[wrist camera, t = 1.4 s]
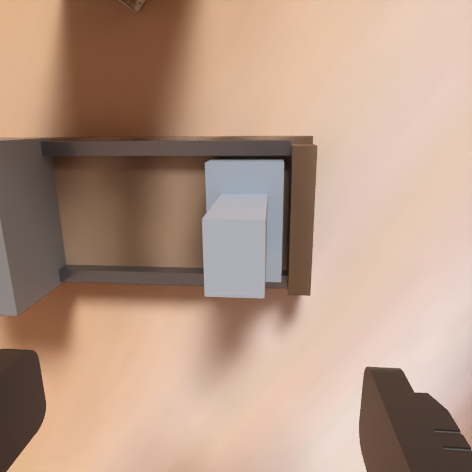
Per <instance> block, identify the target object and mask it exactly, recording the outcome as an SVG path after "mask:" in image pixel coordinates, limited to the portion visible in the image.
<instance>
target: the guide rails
mask: <svg viewBox="0 0 472 472" xmlns="http://www.w3.org/2000/svg"><path fill="white" fill-rule="evenodd" d="M41 149H42V156H291V140H126V141H41ZM59 277H60V282H82V283H116V284H150V285H185V286H204V268H188V267H148V266H108V265H67V264H66V265H65V266H63V267H62V268H60V269H59ZM287 277H288V275H287V270H282V272H281V282H265V288H287Z"/></svg>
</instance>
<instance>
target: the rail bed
mask: <svg viewBox="0 0 472 472" xmlns="http://www.w3.org/2000/svg"><path fill="white" fill-rule="evenodd" d="M126 140H291V156H52V161H53V168H54V176H55V183H56V191H57V198H58V206H59V213H60V220H61V228H62V235H63V243H64V250H65V258H66V264H67V265H108V266H148V267H188V268H204V266H203V236H202V218H203V217H204V216H205V214H206V185H205V162H207V161H209V160H211V159H283V160H284V191H283V231H282V270H287V275H288V277H287V287H288V295H308V296H310V289H311V268H312V247H313V225H314V204H315V183H316V161H317V146H316V145H314V144H313V136H222V137H68V138H50V141H126Z"/></svg>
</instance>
